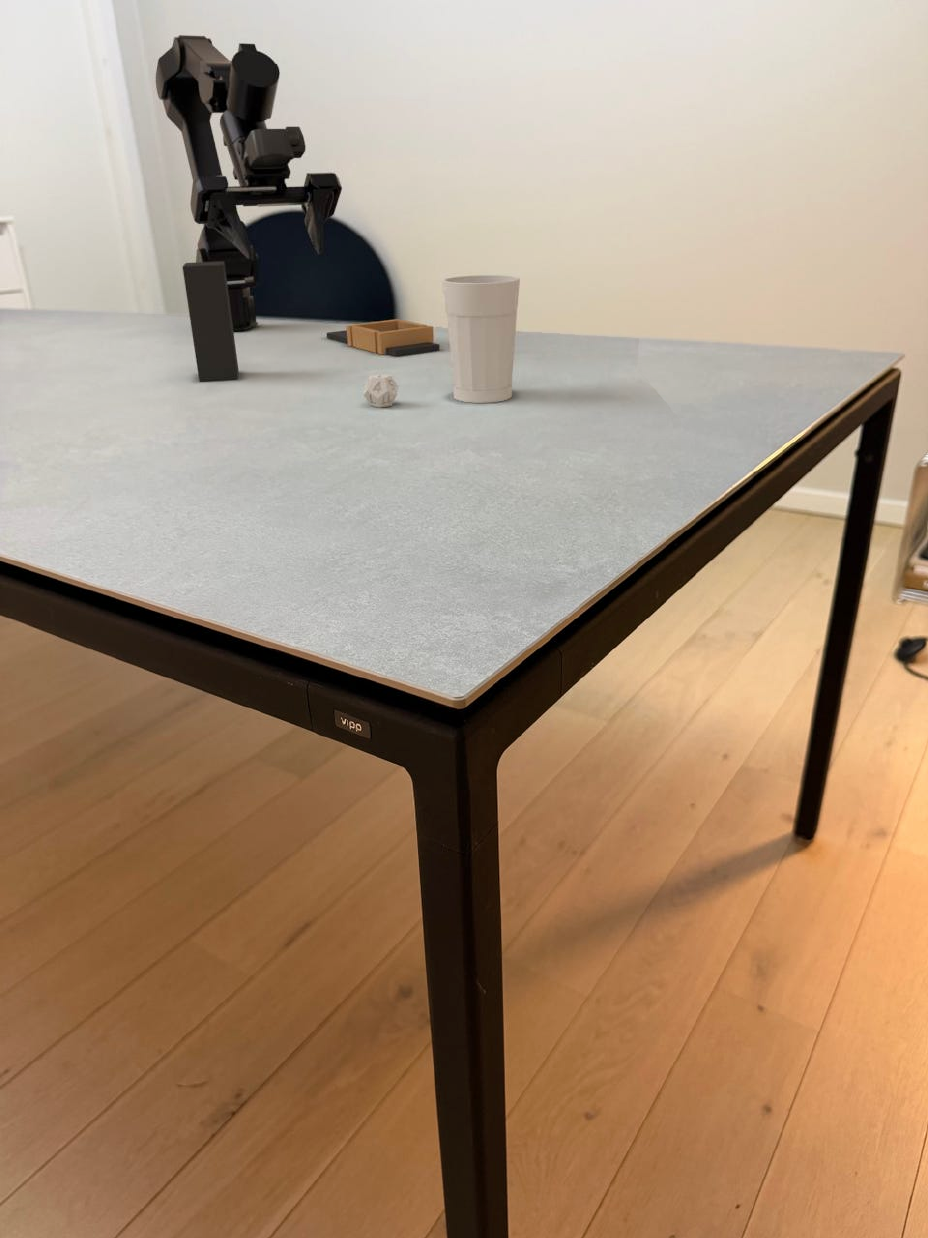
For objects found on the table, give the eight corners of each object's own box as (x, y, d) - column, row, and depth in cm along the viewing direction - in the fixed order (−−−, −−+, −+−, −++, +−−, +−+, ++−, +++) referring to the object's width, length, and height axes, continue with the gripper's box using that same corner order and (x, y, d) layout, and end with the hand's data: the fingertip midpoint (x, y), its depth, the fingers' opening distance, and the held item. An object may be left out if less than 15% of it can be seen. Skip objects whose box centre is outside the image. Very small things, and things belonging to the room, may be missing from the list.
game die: (401, 401, 98) (400, 372, 97) (394, 409, 95) (392, 380, 94) (369, 400, 99) (367, 372, 98) (361, 408, 96) (359, 379, 94)
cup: (446, 388, 103) (443, 275, 98) (517, 387, 103) (518, 273, 98) (445, 405, 96) (441, 284, 91) (521, 403, 96) (521, 282, 91)
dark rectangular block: (201, 374, 114) (185, 262, 109) (238, 372, 115) (224, 261, 109) (199, 381, 110) (182, 266, 105) (237, 379, 111) (222, 264, 105)
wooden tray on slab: (322, 338, 137) (320, 319, 135) (371, 332, 141) (370, 313, 140) (390, 357, 122) (389, 335, 121) (444, 349, 126) (443, 328, 125)
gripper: (183, 100, 108) (219, 213, 105) (332, 101, 116) (370, 207, 113) (176, 169, 118) (210, 274, 115) (315, 165, 126) (349, 264, 123)
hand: (285, 253), depth 116 cm, fingers open, 9 cm apart
